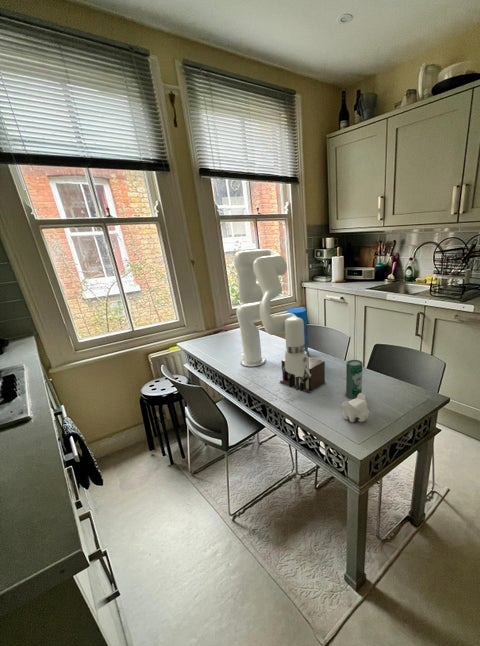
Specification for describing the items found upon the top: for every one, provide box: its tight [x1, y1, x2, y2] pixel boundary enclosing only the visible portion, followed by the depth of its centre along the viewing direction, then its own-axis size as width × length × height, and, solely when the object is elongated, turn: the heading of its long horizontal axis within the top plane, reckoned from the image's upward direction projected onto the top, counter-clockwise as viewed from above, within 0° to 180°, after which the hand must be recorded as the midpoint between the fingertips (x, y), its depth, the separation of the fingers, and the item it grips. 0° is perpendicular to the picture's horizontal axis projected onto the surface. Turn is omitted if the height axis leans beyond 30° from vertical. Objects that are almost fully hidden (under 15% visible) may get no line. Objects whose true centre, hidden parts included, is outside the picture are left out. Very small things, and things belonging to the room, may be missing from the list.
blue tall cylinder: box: [286, 307, 309, 355], centre depth 176 cm, size 11×11×25 cm
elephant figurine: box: [340, 392, 374, 423], centre depth 116 cm, size 10×12×9 cm
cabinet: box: [279, 356, 326, 394], centre depth 144 cm, size 17×12×11 cm
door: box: [295, 375, 309, 391], centre depth 137 cm, size 7×6×9 cm
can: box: [345, 359, 364, 400], centre depth 131 cm, size 6×6×15 cm
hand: (297, 387), depth 135 cm, fingers open, 5 cm apart
